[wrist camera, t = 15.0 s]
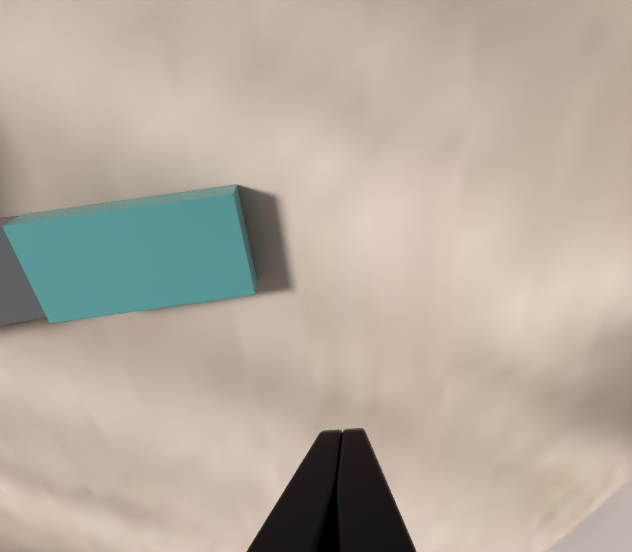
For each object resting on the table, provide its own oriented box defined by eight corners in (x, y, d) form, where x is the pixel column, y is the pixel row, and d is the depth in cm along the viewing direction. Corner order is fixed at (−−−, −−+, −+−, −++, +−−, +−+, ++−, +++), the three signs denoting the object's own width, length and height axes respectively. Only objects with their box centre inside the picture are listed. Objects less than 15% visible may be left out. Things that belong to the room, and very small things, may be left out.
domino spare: (233, 193, 18) (2, 226, 18) (255, 294, 20) (49, 323, 20) (237, 184, 19) (23, 214, 19) (257, 279, 22) (65, 306, 22)
